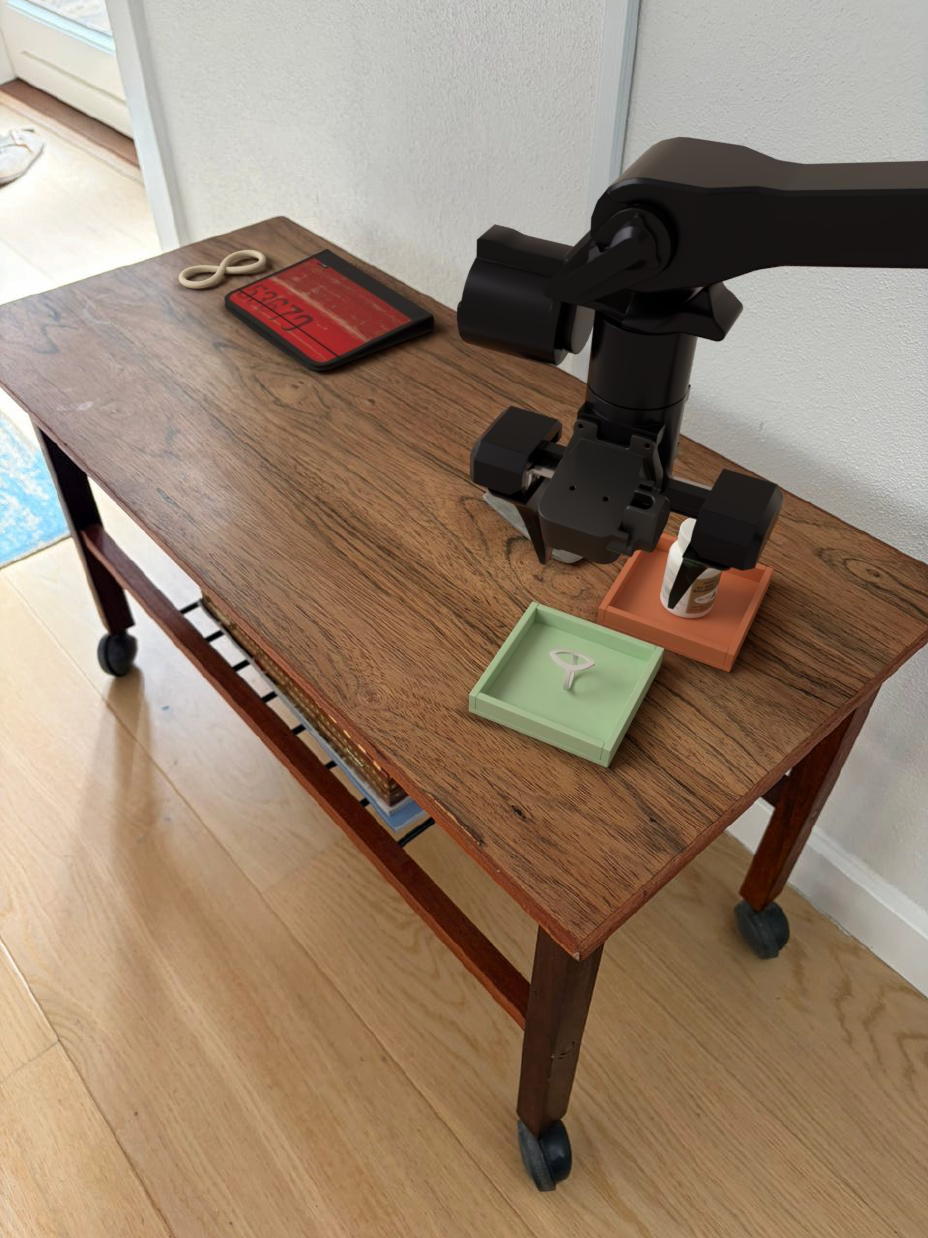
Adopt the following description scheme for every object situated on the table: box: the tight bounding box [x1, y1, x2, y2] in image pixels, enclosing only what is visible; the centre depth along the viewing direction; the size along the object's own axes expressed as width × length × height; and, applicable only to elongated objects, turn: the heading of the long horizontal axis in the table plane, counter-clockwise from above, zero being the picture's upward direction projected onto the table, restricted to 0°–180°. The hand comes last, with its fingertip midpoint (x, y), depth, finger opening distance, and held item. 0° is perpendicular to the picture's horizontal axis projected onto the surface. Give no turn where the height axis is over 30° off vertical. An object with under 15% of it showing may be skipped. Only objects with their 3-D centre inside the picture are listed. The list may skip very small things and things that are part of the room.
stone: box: [482, 490, 584, 564], centre depth 91 cm, size 12×2×5 cm
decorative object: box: [178, 249, 267, 290], centre depth 125 cm, size 11×1×5 cm
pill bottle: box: [660, 517, 722, 618], centre depth 82 cm, size 4×4×8 cm
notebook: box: [223, 248, 436, 372], centre depth 117 cm, size 16×2×21 cm
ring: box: [550, 649, 595, 691], centre depth 77 cm, size 3×3×3 cm
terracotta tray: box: [596, 532, 775, 673], centre depth 84 cm, size 11×11×2 cm
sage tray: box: [468, 600, 665, 769], centre depth 78 cm, size 11×11×2 cm
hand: (607, 582), depth 69 cm, fingers open, 9 cm apart
